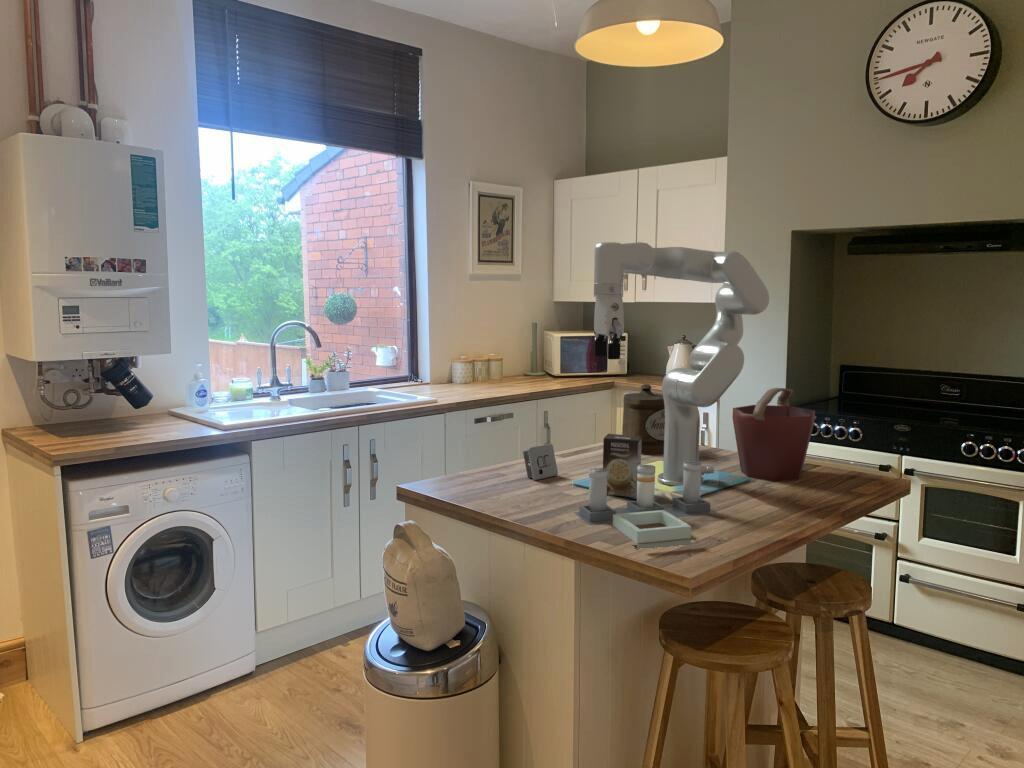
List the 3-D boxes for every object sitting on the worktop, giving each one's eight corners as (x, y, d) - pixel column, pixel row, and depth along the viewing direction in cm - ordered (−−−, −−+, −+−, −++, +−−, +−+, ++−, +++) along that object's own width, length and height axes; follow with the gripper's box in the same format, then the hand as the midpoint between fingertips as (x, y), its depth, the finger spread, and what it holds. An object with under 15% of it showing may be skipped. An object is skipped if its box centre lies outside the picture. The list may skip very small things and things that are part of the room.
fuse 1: (602, 513, 181) (603, 467, 179) (609, 518, 177) (610, 471, 175) (585, 515, 180) (586, 468, 178) (592, 520, 176) (593, 472, 174)
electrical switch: (534, 481, 217) (532, 448, 216) (522, 479, 220) (520, 447, 220) (558, 476, 223) (556, 443, 222) (546, 474, 227) (544, 442, 226)
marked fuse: (649, 509, 184) (650, 464, 183) (657, 514, 180) (658, 468, 179) (633, 510, 183) (634, 465, 182) (640, 515, 179) (642, 469, 178)
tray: (663, 527, 176) (663, 509, 175) (690, 544, 164) (691, 526, 163) (612, 531, 172) (613, 514, 172) (637, 550, 160) (637, 531, 160)
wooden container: (658, 456, 248) (659, 388, 245) (614, 451, 255) (616, 385, 252) (673, 448, 260) (675, 383, 258) (631, 443, 268) (633, 380, 265)
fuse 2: (694, 505, 188) (695, 460, 186) (703, 510, 184) (705, 464, 182) (678, 506, 186) (680, 462, 185) (687, 511, 182) (688, 465, 181)
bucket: (766, 461, 241) (769, 381, 238) (832, 475, 223) (837, 389, 220) (715, 473, 226) (718, 388, 223) (782, 488, 209) (786, 396, 205)
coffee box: (600, 499, 198) (601, 437, 196) (606, 493, 204) (607, 433, 202) (636, 503, 195) (638, 440, 193) (640, 496, 201) (642, 435, 199)
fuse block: (695, 507, 191) (695, 493, 191) (716, 519, 181) (717, 504, 181) (573, 518, 182) (573, 503, 182) (589, 531, 173) (589, 516, 172)
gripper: (635, 291, 192) (633, 360, 194) (609, 291, 209) (608, 354, 211) (606, 291, 190) (605, 360, 193) (583, 290, 207) (582, 354, 209)
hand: (606, 357), depth 202 cm, fingers open, 9 cm apart
